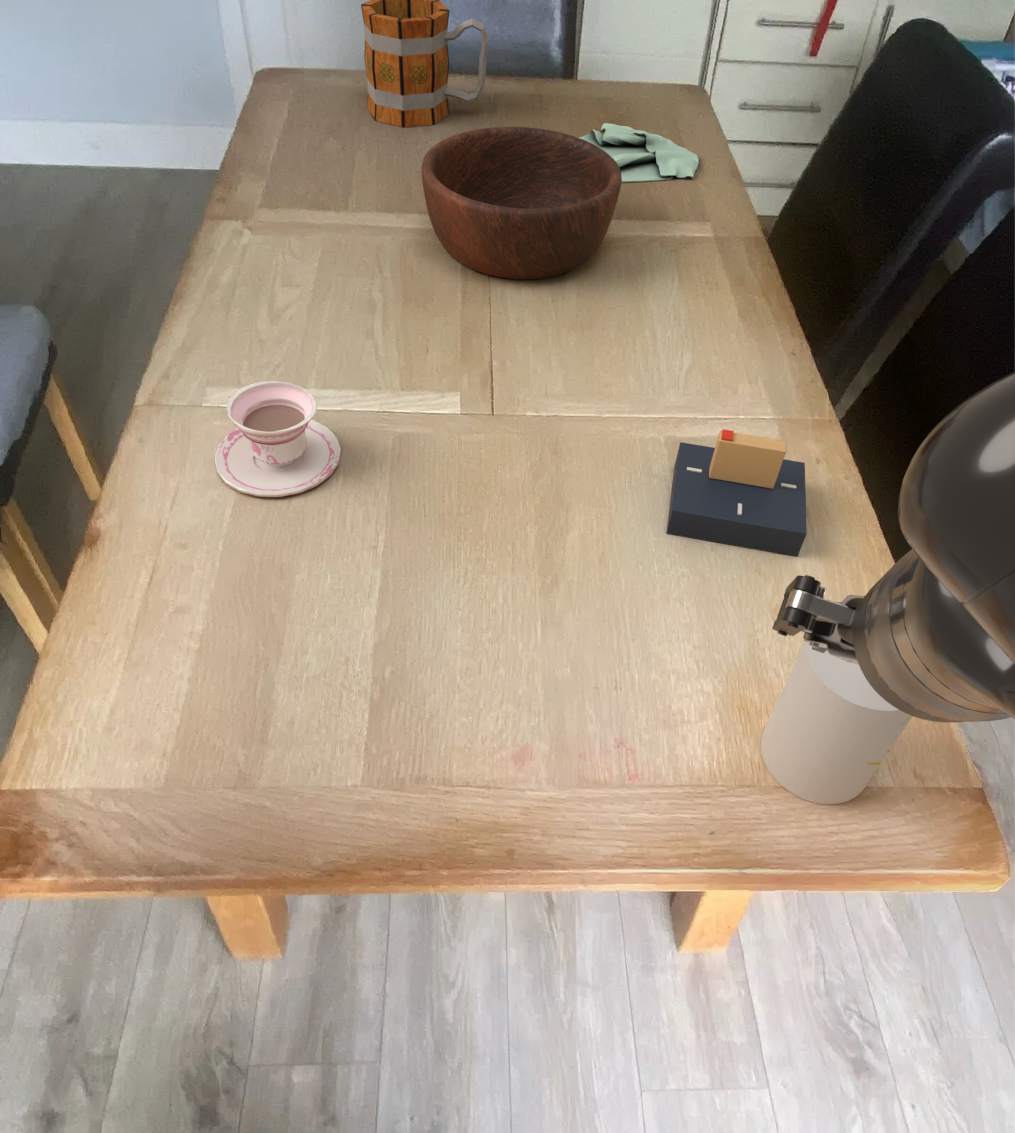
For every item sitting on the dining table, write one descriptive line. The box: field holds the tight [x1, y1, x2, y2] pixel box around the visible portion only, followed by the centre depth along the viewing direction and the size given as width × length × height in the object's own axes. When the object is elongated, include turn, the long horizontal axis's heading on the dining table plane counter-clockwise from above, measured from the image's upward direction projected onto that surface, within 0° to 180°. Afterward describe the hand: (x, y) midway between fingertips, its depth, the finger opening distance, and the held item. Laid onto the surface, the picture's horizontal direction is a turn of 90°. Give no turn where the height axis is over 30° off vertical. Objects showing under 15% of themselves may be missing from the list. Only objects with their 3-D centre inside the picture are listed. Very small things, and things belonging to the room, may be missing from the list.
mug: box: [360, 0, 490, 128], centre depth 143 cm, size 20×14×15 cm
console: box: [665, 441, 808, 557], centre depth 85 cm, size 12×11×3 cm
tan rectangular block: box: [709, 428, 787, 489], centre depth 83 cm, size 6×2×5 cm, turn 78°
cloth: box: [579, 122, 700, 183], centre depth 140 cm, size 20×22×2 cm
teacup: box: [214, 380, 342, 498], centre depth 86 cm, size 12×12×6 cm
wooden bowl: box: [421, 126, 623, 280], centre depth 116 cm, size 25×25×10 cm
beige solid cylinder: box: [760, 641, 914, 806], centre depth 64 cm, size 8×8×12 cm
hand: (895, 659), depth 53 cm, fingers open, 8 cm apart
